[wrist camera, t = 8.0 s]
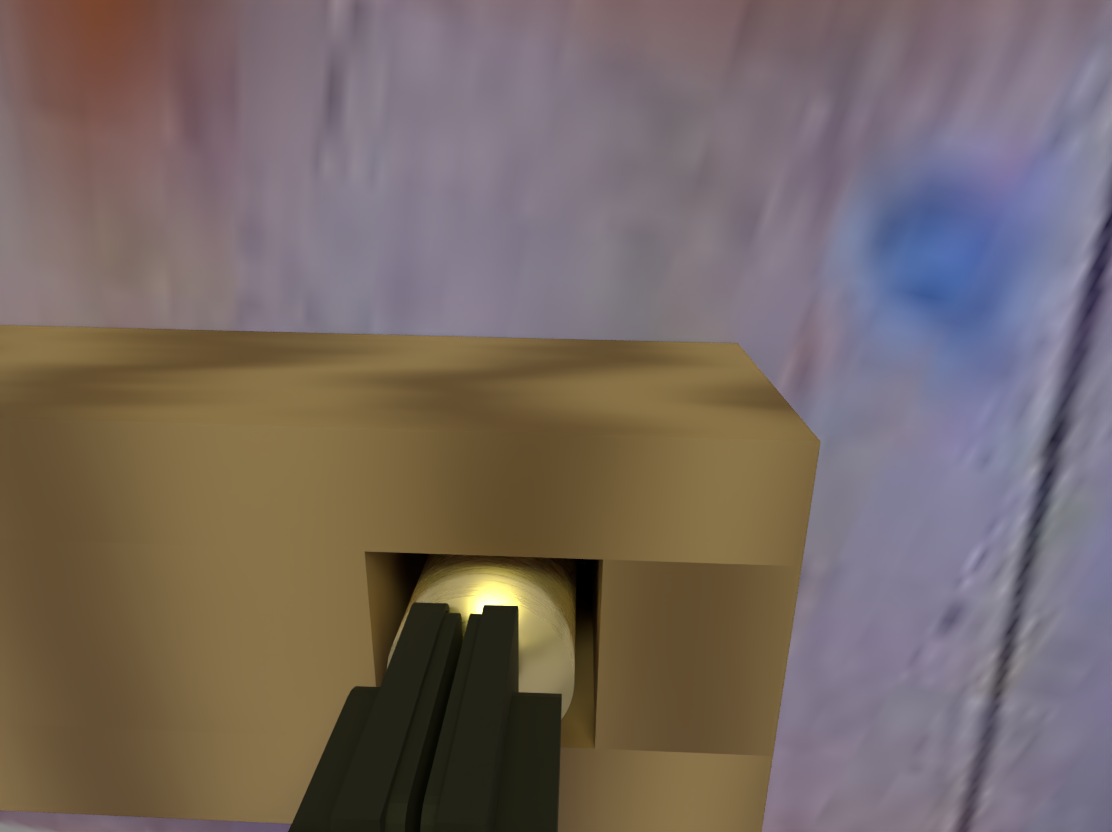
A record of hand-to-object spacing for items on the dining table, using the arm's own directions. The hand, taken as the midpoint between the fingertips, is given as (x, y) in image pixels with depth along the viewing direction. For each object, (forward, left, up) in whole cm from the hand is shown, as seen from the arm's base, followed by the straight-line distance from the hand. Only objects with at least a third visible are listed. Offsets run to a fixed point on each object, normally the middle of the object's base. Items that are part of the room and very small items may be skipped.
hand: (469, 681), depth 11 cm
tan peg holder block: (+7, 0, -7) cm, 10 cm away
